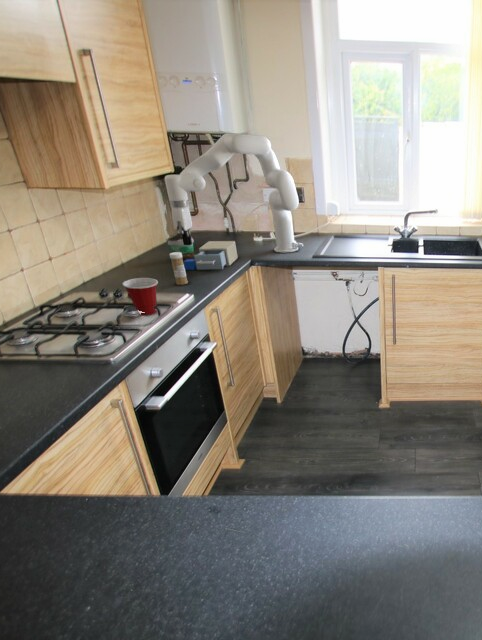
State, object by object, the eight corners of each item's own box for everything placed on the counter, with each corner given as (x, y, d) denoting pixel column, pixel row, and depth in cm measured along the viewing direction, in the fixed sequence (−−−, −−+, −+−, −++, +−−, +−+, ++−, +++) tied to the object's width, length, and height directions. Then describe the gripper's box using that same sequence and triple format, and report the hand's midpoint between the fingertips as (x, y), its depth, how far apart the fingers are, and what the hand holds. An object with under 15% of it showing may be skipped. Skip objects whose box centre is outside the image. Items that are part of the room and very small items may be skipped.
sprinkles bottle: (175, 283, 204) (167, 252, 198) (186, 281, 207) (179, 251, 201) (178, 286, 201) (171, 255, 195) (189, 283, 204) (182, 253, 198)
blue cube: (197, 267, 226) (195, 259, 224) (194, 269, 222) (192, 261, 221) (188, 267, 226) (186, 259, 224) (185, 269, 222) (183, 261, 220)
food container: (177, 262, 232) (172, 242, 228) (171, 260, 235) (166, 240, 231) (202, 257, 241) (198, 238, 237) (195, 255, 244) (191, 236, 240)
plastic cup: (156, 318, 169) (148, 286, 164) (125, 318, 169) (115, 286, 163) (170, 307, 179) (162, 276, 174) (140, 307, 178) (132, 276, 173)
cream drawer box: (229, 265, 229) (226, 248, 226) (202, 266, 228) (198, 248, 224) (237, 257, 242) (235, 241, 239) (212, 257, 241) (208, 241, 237)
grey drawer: (219, 272, 217) (216, 257, 214) (193, 272, 215) (190, 258, 212) (230, 261, 233) (228, 247, 230) (206, 261, 232) (203, 247, 229)
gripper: (177, 201, 217) (185, 240, 225) (163, 206, 203) (173, 248, 211) (194, 201, 218) (202, 240, 226) (182, 206, 204) (191, 248, 212)
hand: (188, 244), depth 218 cm, fingers closed
